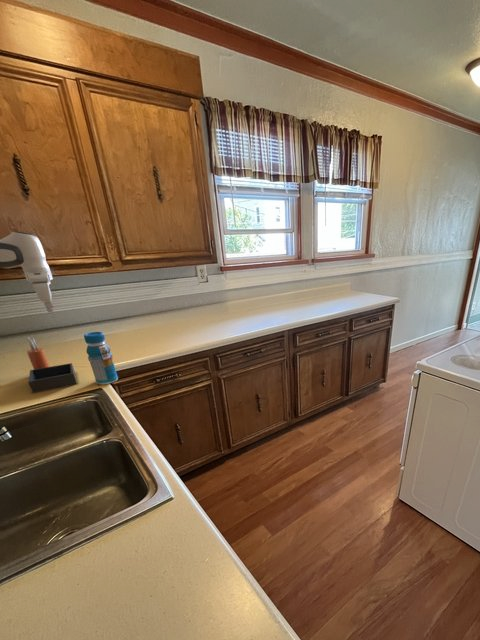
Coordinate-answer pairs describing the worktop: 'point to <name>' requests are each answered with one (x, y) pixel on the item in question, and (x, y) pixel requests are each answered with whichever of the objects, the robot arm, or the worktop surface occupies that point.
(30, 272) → the robot arm
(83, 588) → the worktop surface
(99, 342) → the beverage bottle
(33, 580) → the worktop surface
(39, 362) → the cutlery cup
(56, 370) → the bin
